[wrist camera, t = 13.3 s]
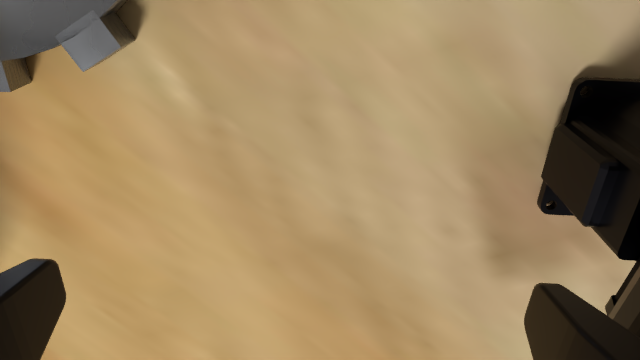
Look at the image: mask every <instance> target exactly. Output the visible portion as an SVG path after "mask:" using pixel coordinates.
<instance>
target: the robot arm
mask: <svg viewBox="0 0 640 360" xmlns="http://www.w3.org/2000/svg"><path fill="white" fill-rule="evenodd" d="M585 86H588V91H587V92H586V93H585V94H583V95H580V91H581V90H582V88H584V87H585ZM541 177H542V179H543V184H542V187H541V190H540V194H539V197H538V201H537V205H538V207H539V208H540V209H541V211H542V212H544V213H545V214H552V215H572V216H575V217H576V218H577V219H578V220H579V221H580V222H581V224H582V225H583V226H585V227H591V228H592V229H593V230H594V231H595V232H596V233H597V234H598V235H599V236H600V238H601V239H602V240H603V241H604V242H605V243H606V244H607V245H608V246H609V248H610V249H611V250H612V251H613V252H614V253H615V254H616V255H617V256H618V258H619V259H622V260H635V261H636V263H635V265H634V267H633V268H632V270H631V271H630V273H629V275H628V276H627V278H626V279H625V281H624V283H623V284H622V286H621V288H620V289H619V291H618V292H617V294H616V295H612V296H611V298H610V299H609V301H608V303H607V304H606V306H605V309H606V313H607V315H605V314H604V313H602V312H601V311H599V310H598V309H596V308H595V307H593V306H592V305H590V304H589V303H587V302H586V301H584V300H583V299H581V298H580V297H578V296H577V295H576V294H574V293H573V292H571V291H570V290H568V289H567V288H565V287H564V286H562V285H560V284H550V283H539V284H537V285H536V286H535V287H534V289H533V292H532V295H531V298H530V301H529V304H528V307H527V310H526V313H525V318H524V325H525V331H526V334H527V338H528V342H529V345H530V349H531V353H532V356H533V360H640V80H631V79H610V78H588V77H585V78H580V79H578V80H576V81H575V82H574V83H573V84H572V86H571V88H570V92H569V95H568V98H567V102H566V105H565V109H564V112H563V115H562V119H561V122H560V124H559V125H558V126H557V127H556V128H555V130H554V134H553V137H552V140H551V144H550V147H549V151H548V154H547V158H546V161H545V165H544V168H543V172H542V175H541ZM549 201H553V203H552V204H551V205H548V206H546V204H547V203H548V202H549ZM65 302H66V292H65V288H64V284H63V281H62V277H61V273H60V270H59V266H58V264H57V263H56V261H54V260H52V259H29V260H27V261H25V262H23V263H21V264H19V265H17V266H15V267H13V268H11V269H8V270H6V271H4V272H2V273H0V360H40V359H41V357H42V355H43V352H44V350H45V348H46V346H47V344H48V341H49V339H50V337H51V335H52V332H53V330H54V328H55V326H56V324H57V321H58V319H59V317H60V315H61V312H62V310H63V308H64V305H65Z"/></svg>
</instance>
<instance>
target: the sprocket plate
mask: <svg viewBox="0 0 640 360" xmlns="http://www.w3.org/2000/svg"><path fill="white" fill-rule="evenodd" d="M126 1H127V0H0V92H11V91H14V90H16V89H18V88H20V87H22V86H24V85H26V84H29V83H31V78H30V75H29V71H28V68H27V64H26V61H25V57H27V56H31V55H34V54H37V53H40V52H43V51H46V50H49V49H52V48H55V47H57V46H60V45H62V46H63V47H64V49H65V50H66V51H67V52H68V54H69V55H70V56H71V57H72V59H73V60H74V61H75V62H76V64H77V65H78V66H79V67H80V69H81V70H82V71H83V72H84V71H86V70H88V69H90V68H92V67H94V66H96V65H98V64H100V63H101V62H103V61H104V60H106V59H107V58H109V57H110V56H112V55H113V54H115V53H116V52H118V51H119V50H121V49H123V48H124V47H126V46H127V45H129V44H130V43H132V42H133V41H135V39H134V37H133V36H132V34H131V33H130V32H129V30H128V29H127V27H126V26H125V25H124V23H123V22H122V21H121V19H120V18H119V16H118V15H117V14H116V12H117V11H118V10H119V8H120V7H121V6H122V5H123V4H124V3H125V2H126Z"/></svg>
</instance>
